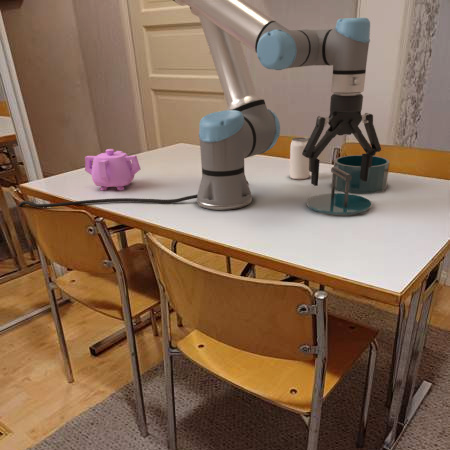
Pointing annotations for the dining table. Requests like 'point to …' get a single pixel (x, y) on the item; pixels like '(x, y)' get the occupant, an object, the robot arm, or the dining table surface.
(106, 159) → the pot
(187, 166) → the dining table surface
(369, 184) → the pot
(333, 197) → the lid
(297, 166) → the can
